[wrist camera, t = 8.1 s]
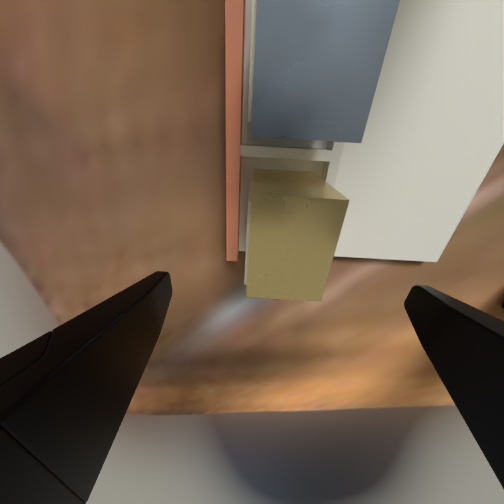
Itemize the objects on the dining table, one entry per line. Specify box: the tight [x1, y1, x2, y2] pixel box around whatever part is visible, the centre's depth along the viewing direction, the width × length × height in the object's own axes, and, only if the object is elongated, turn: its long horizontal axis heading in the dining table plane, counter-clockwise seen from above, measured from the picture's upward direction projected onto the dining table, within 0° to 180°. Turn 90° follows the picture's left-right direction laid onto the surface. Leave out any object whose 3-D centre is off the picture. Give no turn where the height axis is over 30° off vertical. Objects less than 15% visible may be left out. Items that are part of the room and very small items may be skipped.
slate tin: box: [248, 0, 400, 143], centre depth 9 cm, size 4×6×6 cm
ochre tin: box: [244, 168, 350, 302], centre depth 13 cm, size 4×6×6 cm
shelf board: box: [225, 0, 504, 262], centre depth 14 cm, size 17×15×3 cm
